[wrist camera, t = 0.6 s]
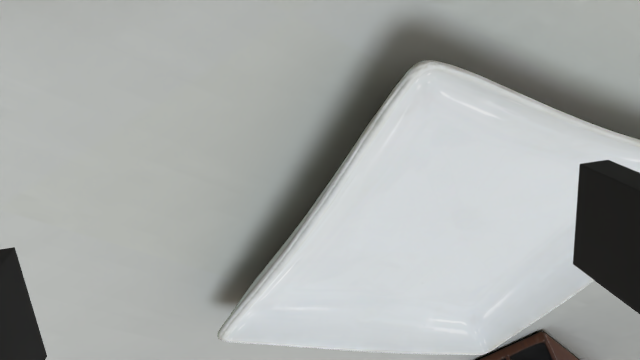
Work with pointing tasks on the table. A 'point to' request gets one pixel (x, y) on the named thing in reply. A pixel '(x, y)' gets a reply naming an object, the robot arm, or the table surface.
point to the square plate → (435, 226)
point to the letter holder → (533, 350)
